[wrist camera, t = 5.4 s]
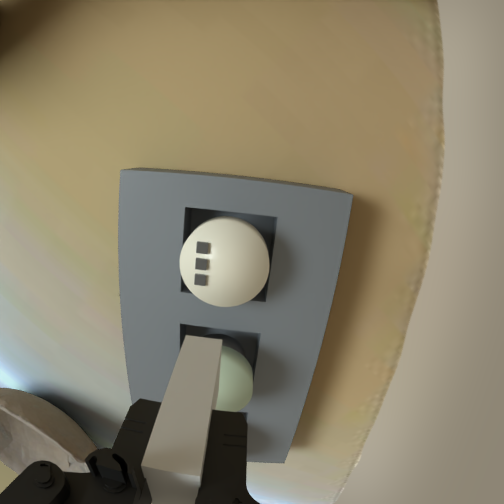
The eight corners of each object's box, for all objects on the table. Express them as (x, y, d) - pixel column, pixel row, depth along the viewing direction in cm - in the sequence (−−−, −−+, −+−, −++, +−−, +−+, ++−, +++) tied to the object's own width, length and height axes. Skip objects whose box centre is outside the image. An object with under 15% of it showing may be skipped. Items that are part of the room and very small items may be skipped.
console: (147, 424, 35) (140, 445, 32) (138, 167, 26) (120, 169, 22) (282, 440, 36) (284, 463, 32) (339, 189, 27) (353, 194, 23)
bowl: (158, 474, 40) (146, 522, 30) (51, 463, 42) (34, 496, 32) (69, 350, 32) (29, 400, 23) (-26, 361, 35) (-57, 391, 25)
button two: (184, 376, 29) (174, 411, 24) (185, 322, 27) (172, 354, 22) (249, 384, 29) (248, 420, 24) (257, 331, 27) (257, 365, 22)
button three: (190, 277, 28) (177, 302, 23) (194, 206, 26) (181, 217, 21) (262, 286, 28) (263, 312, 23) (271, 214, 26) (275, 227, 21)
